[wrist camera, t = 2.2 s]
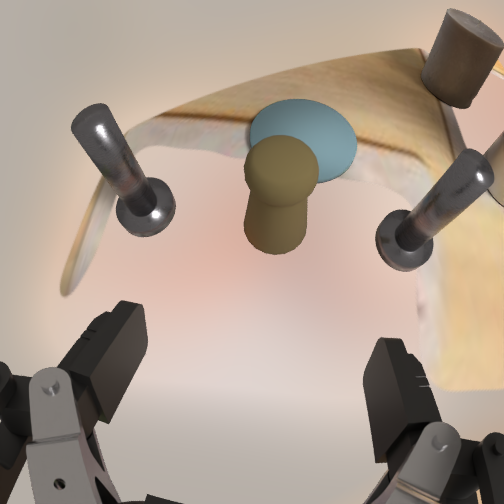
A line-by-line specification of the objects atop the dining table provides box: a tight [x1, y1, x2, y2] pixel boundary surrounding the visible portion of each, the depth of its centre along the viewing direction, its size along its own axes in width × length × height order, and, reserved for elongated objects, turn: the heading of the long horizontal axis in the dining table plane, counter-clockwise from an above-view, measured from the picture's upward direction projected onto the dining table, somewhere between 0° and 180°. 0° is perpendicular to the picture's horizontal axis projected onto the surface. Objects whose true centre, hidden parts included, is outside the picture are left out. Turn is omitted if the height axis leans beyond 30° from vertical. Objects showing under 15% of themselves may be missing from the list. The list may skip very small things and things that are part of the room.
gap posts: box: [71, 103, 494, 272], centre depth 23 cm, size 32×6×14 cm, turn 82°
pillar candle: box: [421, 8, 504, 109], centre depth 31 cm, size 10×10×15 cm
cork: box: [244, 135, 319, 255], centre depth 25 cm, size 6×6×11 cm
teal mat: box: [250, 99, 357, 183], centre depth 33 cm, size 12×12×1 cm
